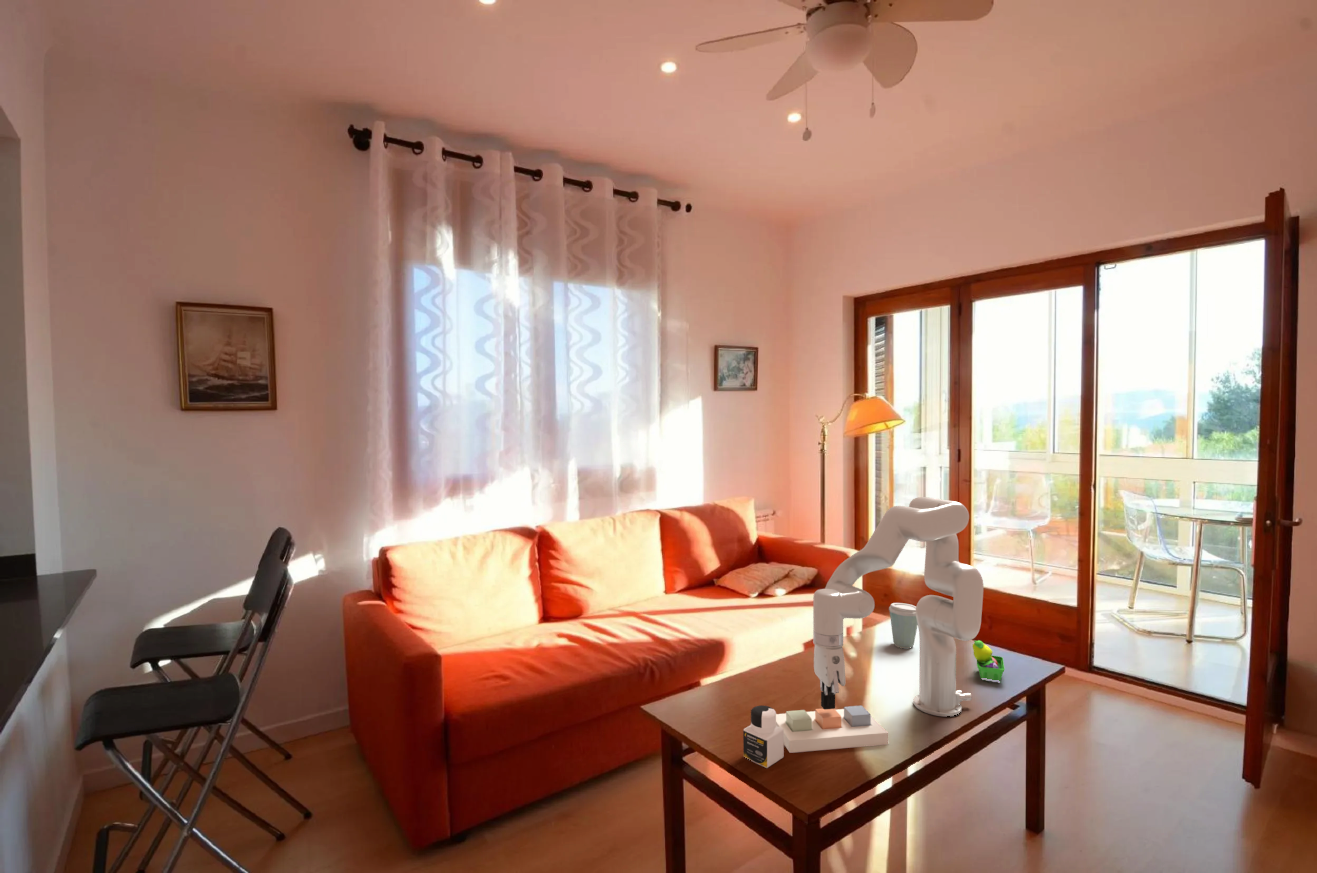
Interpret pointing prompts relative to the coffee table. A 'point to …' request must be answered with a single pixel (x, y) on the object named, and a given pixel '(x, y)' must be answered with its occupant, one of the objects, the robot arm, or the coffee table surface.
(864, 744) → the key board
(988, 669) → the fruit basket
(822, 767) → the coffee table surface
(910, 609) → the disposable coffee cup
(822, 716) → the key terracotta
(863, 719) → the key slate
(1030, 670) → the coffee table surface
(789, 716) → the key sage
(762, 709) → the medicine bottle
